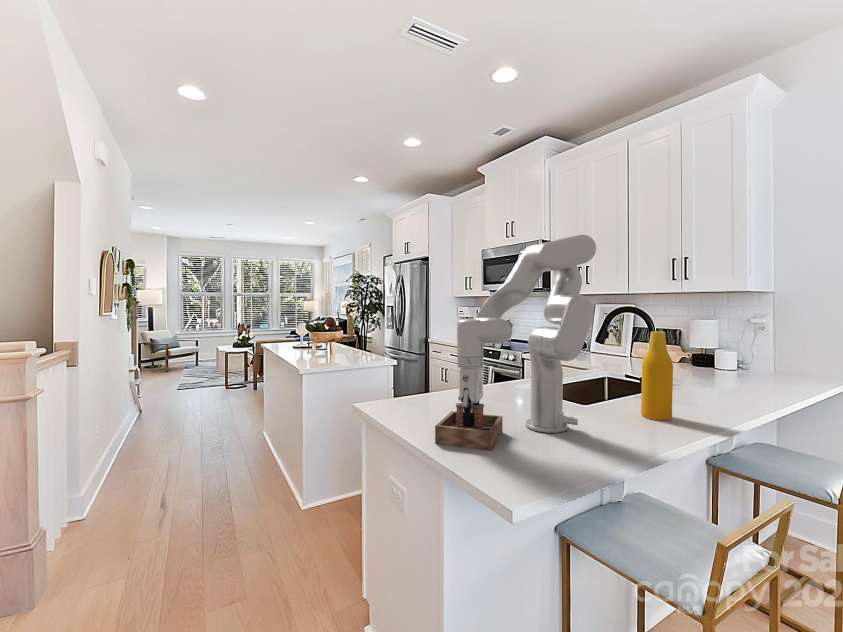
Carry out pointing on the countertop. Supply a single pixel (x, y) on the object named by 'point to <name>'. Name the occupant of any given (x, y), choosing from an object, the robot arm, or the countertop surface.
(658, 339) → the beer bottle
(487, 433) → the walnut box
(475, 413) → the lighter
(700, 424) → the countertop surface
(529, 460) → the countertop surface
